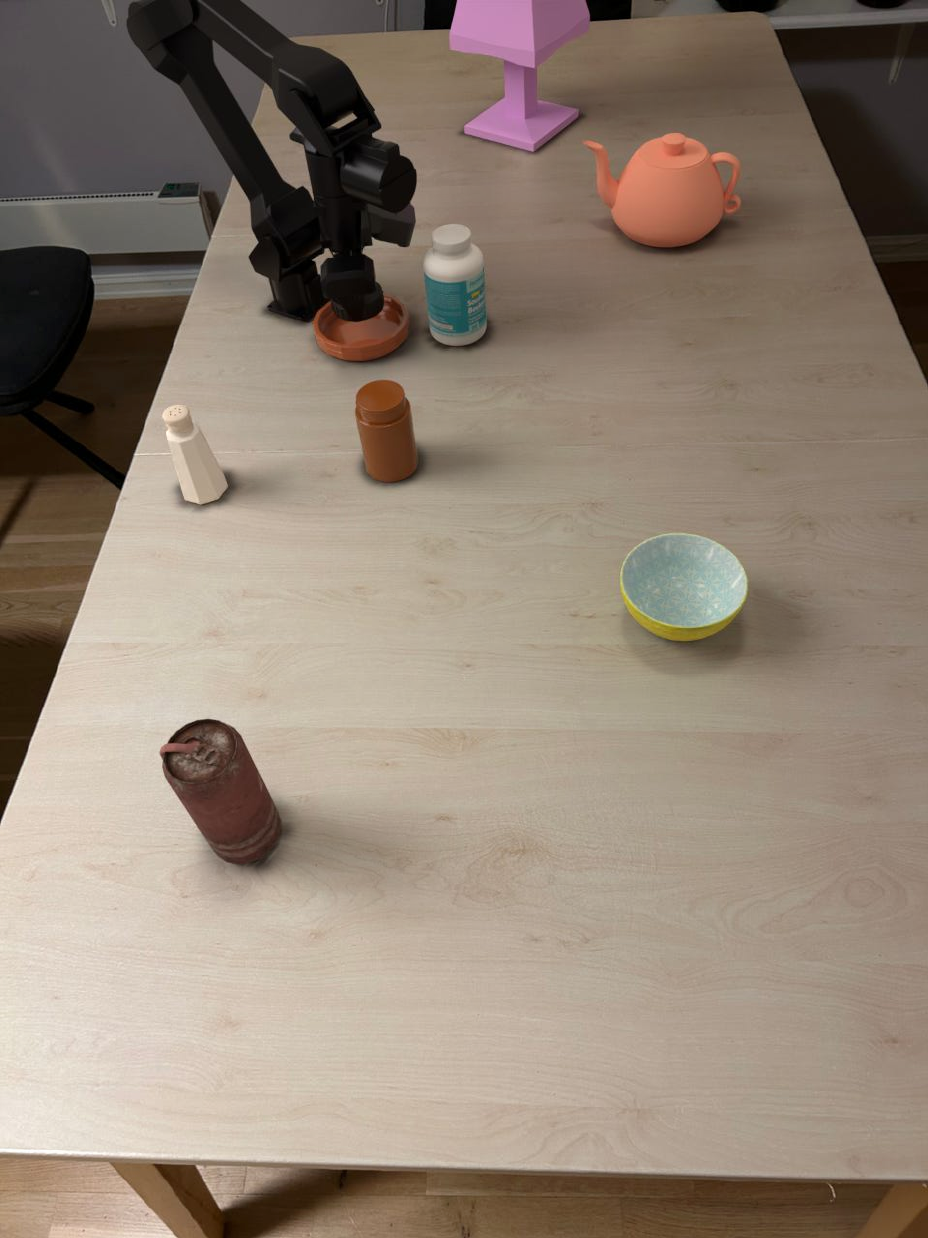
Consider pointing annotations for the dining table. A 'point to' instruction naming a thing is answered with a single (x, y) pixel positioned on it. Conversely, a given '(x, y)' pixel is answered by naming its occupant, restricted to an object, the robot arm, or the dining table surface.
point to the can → (221, 790)
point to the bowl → (683, 586)
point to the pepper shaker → (193, 458)
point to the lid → (371, 305)
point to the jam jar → (386, 431)
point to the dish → (362, 332)
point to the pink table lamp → (519, 62)
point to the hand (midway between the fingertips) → (357, 305)
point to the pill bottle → (455, 286)
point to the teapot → (667, 190)
